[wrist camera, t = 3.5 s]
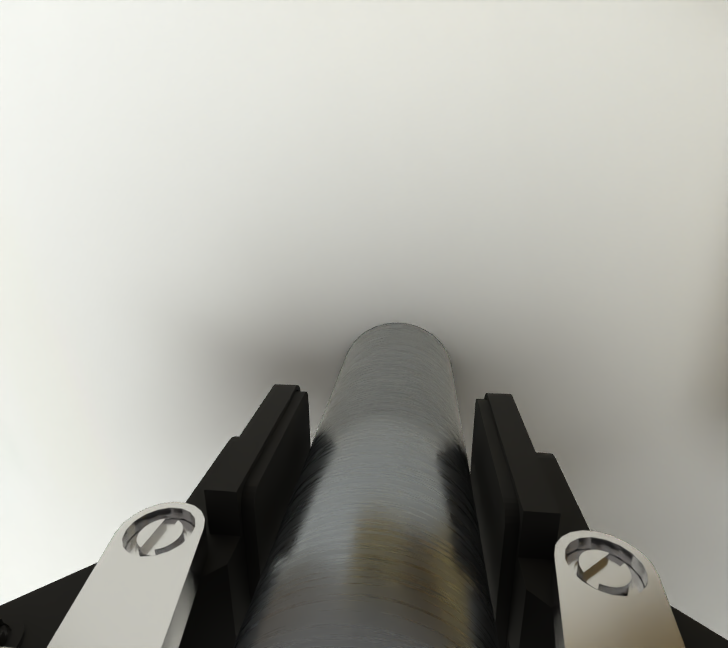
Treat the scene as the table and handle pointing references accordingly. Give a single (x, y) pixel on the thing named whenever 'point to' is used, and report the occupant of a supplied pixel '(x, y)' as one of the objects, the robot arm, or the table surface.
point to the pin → (380, 515)
